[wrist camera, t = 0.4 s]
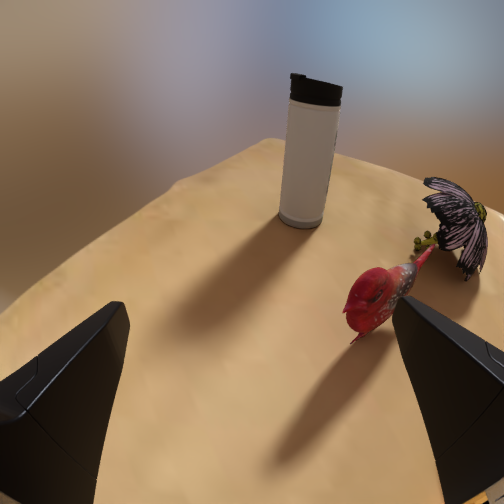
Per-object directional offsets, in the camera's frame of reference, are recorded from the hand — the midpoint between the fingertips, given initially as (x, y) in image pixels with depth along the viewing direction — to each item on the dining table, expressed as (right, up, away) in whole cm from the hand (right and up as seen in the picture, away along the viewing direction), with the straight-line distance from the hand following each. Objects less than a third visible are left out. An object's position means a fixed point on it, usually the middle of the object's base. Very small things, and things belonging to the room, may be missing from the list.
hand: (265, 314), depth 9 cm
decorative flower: (+27, +1, +28) cm, 39 cm away
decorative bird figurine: (+12, -5, +19) cm, 23 cm away
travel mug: (+6, +7, +33) cm, 35 cm away
